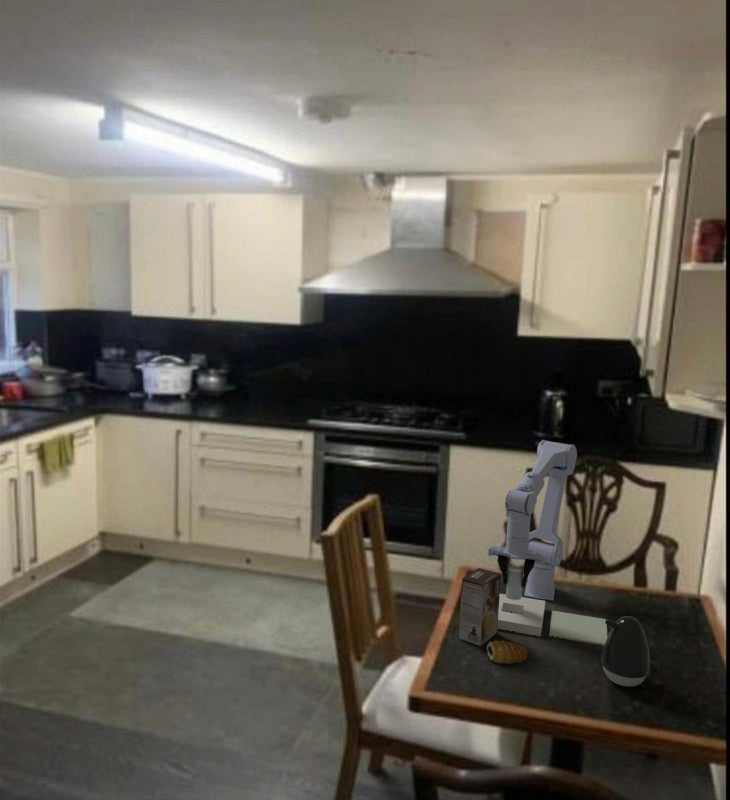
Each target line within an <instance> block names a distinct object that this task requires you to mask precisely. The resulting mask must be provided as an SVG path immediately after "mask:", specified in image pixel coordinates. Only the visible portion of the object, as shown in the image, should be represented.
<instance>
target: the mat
mask: <svg viewBox="0 0 730 800" xmlns="http://www.w3.org/2000/svg"><path fill="white" fill-rule="evenodd" d="M606 620H607V619H606V618H602V617H601V618H600V617H593V616H588V615H582V614H575V613H569V612H563V611H558V610H552V611H551V617H550V627H549V634H548V636H549V637H552V636H553V637H552V638H557V637H559V638H558V639H563V638H565V639H564V640H569V641H575V642H580V643H581V642H582V643H585V644H586V643H587V644H592V645H599V646H602V647H604V645H605V642H606V639H607V637H608V625H607V624H605V621H606Z"/></svg>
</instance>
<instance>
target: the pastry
mask: <svg viewBox="0 0 730 800" xmlns="http://www.w3.org/2000/svg"><path fill="white" fill-rule="evenodd" d="M486 651H487V656H488V657H489V659H490V660H491V662H493V663H496V664H499V665H502V664H506V665H511V664H516V663H521V662H524V661H526V660H527V659H528V651H527V648H525V646H523V645H520V644H519V645H518V644H516V643H513V642H510V641H505V640H503V639H502V640H501V641H500V640H497V639H496V640H494V641H489V642H488V643H487V646H486Z"/></svg>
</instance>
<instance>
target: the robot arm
mask: <svg viewBox="0 0 730 800" xmlns="http://www.w3.org/2000/svg"><path fill="white" fill-rule="evenodd" d="M577 457H578V451H577V448H576V445H575V444H567V443H562V442H555V441H549V440H546V439H541V441H540V442H539V444H538V446H537V451H536V458H537V459H536V462H535V464H534V466H533V469H532V470H531V471H529V472H526V473H525V474H524V475H523V477H522V479H521V480H520V481H519V482H518V485H517V486H516V488H515V489H512V490H508V492H507V493H506V496H505V501H504V506H505V508H504V509H505V510H506V511H505V512H506V513H505V514H506V515H505V516H506V517H507V529H506V541H505V546H492V545H491V546H490V545H489V547H488V549H487V550H488V553H487V556H489V557H492V556H496V557H497V560H496V561H497V564H498V566H499V569H500V571H501V577H502V580H503V585H506V586H507V573H508V569H507V565H508V564H509V558H511V559H513V560H524V562H523V566H524V571H523V581H522V588H525V591H524V597H526V598H532V599H538V600H544V601H554V599H555V597H554V596H555V592H556V591H555V590H556V589H555V588H556V587H555V585H554V584H555V583H554V581H555V571H556V570H555V569H556V568H557V567H558V566H559V565H561V562H562V559H563V553H564V550H563V549H564V548H563V547H564V541H563V539H562V538H561V537H560V536H559V534H557V532H556V530H557V527H558V522H559V521H558V520H559V515H560V511H561V506H562V502H563V501H562V500H563V498H564V497H563V496H564V490H565V486H566V481H567V478H568V476H571V475H573V474H574V471H575V467H576V462H577ZM546 476H548V478H547V484H546V489H545V494H544V499H543V503H542V507H541V513H540V517H539V522H538V526H537V527H538V528H536V529H534V530H533V531H530V530H531V515H532V514H533V513H534V511H535V508H536V504H537V502H538V496H539V495H540V493H541V492H542V490H543V488H544V487H545V480H544V479H545V478H546ZM539 539H540V540H539ZM547 541H549V542H547Z"/></svg>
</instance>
